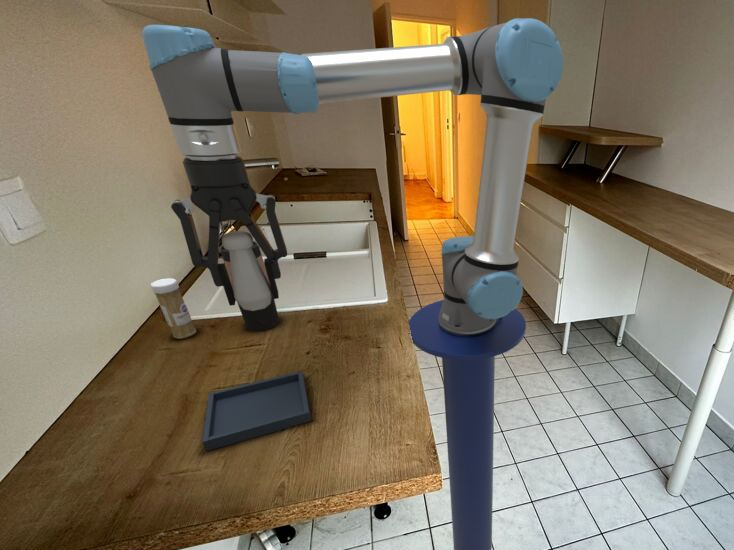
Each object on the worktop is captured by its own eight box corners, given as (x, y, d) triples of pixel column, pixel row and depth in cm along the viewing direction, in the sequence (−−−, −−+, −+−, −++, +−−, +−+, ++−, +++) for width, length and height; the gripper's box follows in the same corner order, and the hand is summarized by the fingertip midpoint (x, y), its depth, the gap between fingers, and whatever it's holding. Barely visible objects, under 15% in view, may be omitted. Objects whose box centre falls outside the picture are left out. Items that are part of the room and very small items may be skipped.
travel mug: (238, 330, 99) (210, 250, 89) (258, 315, 105) (235, 239, 95) (268, 332, 98) (243, 252, 88) (287, 317, 104) (266, 241, 95)
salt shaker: (245, 298, 74) (223, 227, 68) (279, 297, 75) (261, 227, 69) (232, 313, 69) (207, 238, 63) (269, 312, 70) (248, 238, 64)
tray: (304, 379, 83) (302, 370, 82) (311, 421, 73) (309, 412, 72) (212, 401, 76) (208, 392, 75) (206, 451, 66) (202, 441, 65)
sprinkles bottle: (194, 337, 95) (172, 284, 88) (170, 340, 94) (146, 287, 87) (199, 328, 99) (178, 276, 92) (176, 331, 97) (153, 278, 90)
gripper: (123, 161, 53) (185, 318, 65) (285, 158, 61) (315, 298, 73) (136, 154, 59) (192, 299, 70) (283, 151, 67) (312, 282, 78)
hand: (254, 298), depth 71 cm, fingers closed on salt shaker, 6 cm apart
